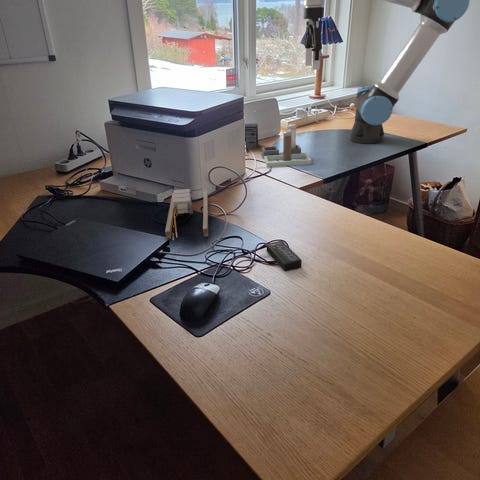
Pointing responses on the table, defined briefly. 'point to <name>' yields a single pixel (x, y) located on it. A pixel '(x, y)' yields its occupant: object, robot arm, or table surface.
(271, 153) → the fuse block
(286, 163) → the parts tray
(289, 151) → the fuse
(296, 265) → the multiport hub
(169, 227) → the cable rest strips
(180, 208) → the electrical component
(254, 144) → the small box
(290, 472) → the table surface
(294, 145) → the fuse
